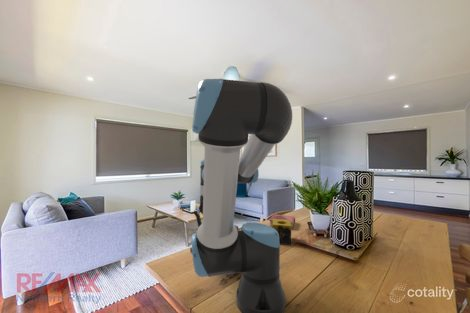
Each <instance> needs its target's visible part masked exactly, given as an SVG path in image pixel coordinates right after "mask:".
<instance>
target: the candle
mask: <svg viewBox="0 0 470 313" xmlns="http://www.w3.org/2000/svg"><path fill="white" fill-rule="evenodd" d="M272 228H274V229H275V230H276V231H277V232H278V234H279V242H280V245H289V246H290V245H292V230H291V222H290V220H281V219H273V225H272Z"/></svg>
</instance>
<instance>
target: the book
mask: <svg viewBox="0 0 470 313" xmlns="http://www.w3.org/2000/svg"><path fill="white" fill-rule="evenodd" d="M273 219H281V220H290V222H291V231H292V230H293V229H294V227H295V225H294V224H296V216H295V215H293V216H292V215H286V214H275V213H274V214H273V215H272V216H271V217H270V218H269V220H268V222H269V226H270V227H272V225H273Z"/></svg>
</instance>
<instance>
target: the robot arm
mask: <svg viewBox="0 0 470 313" xmlns="http://www.w3.org/2000/svg"><path fill="white" fill-rule="evenodd" d="M196 90H197V91H196V94H195V101H194V102H195V103H194V109H193V118H192V126H191V130H192V132H193V133H195V134H198V137H197V138H198V143H200V144H201V145H203V147H204V155H203V156H204V159H201V161H200V167H199V168H200V182H199V183H200V186H199V187H200V189H199V194H200V196H199V207H198V208H197V209H195V210H194V211H193V214H194V215H195V217H196V222H197V226H198V228H197V231H196V232H195V233H193V234H192V235H191V248H192V253H193V254H192V253H191V254H192V263H193V264H192V265H193V269H194V272H195V274H196V276H197V277H198V278H199V277H201V278H203V277H208V278H211V277H215V276H217V277H218V276H224V275H231V274H232V275H233V274H238V273H241V276H240V279H239V282H238V286H237V290H236V294H235V300H236V302H235V303H236V306H237V308H238V310H239V311H240V312H241V313H284V312H285V309H286V295H285V294H286V293H285V292H284V288H283V284H282V282H281V277H280V268H281V267H280V261H281V260H280V258H281V257H280V255H281V254H280V253H281V252H280V251H281V249H280V248H281V244H280V242H279V234H278V232H277V231H276V230H275V229H274V228H272V227H270V225H268V224H263V223H259V222H246V223H243V224H242V225H241V227H240V229H238V230H237V228H236V227H235V226H234V225H235V224H234V223H235V222H234V221H235V211H236V210H235V209H236V202H237V201H236V198H237V190H238V184H253V183H254V184H255V183H257V181H258V179H259V174H260V173H259V168H260V166H261V165H262V164H263V162H264V161H265V159H266V158H267V156H268V155H269V154H270V152H271V151H272V149H273V148H274V146H275V145H277V144H279V143H281V142H282V141H283V140H284V139H285V138H286V136H287V135H288V133H289V131H290V129H291V126H292V123H293V109H292V105H291V103H290V100H289V98H288V96H287V95H286V94H285V93H284V91H283V90H281V89H280V88H279V87H278V86H276V85H274V84H272V83H269V82H264V81H263V82H261V81H259V82H256V81H245V80H235V79H225V78H205V79H202V80H201V81H200V82H199V83H198V85H197V89H196ZM243 148H244V149H243ZM241 149H243V151H242V154H241ZM200 214H201V215H202V219H201V215H200Z"/></svg>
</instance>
